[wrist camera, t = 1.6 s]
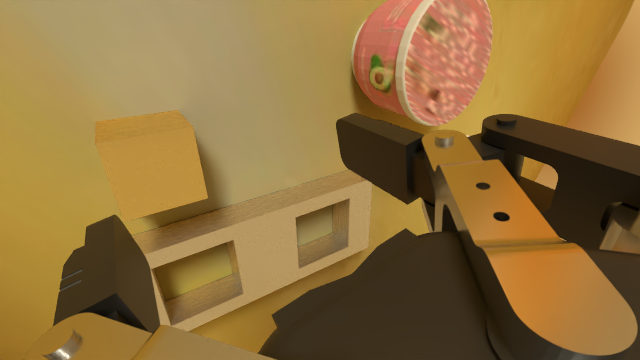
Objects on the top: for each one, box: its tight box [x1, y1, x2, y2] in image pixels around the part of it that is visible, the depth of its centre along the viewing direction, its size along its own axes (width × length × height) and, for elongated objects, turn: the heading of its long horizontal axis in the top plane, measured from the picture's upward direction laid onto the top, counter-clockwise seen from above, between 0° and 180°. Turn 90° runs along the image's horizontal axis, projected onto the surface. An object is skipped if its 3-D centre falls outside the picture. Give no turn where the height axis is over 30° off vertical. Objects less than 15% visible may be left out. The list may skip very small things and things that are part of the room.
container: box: [351, 0, 492, 126], centre depth 27 cm, size 10×10×8 cm
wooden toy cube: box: [95, 110, 208, 222], centre depth 21 cm, size 5×5×5 cm
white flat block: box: [132, 170, 372, 331], centre depth 30 cm, size 24×9×3 cm, turn 92°
